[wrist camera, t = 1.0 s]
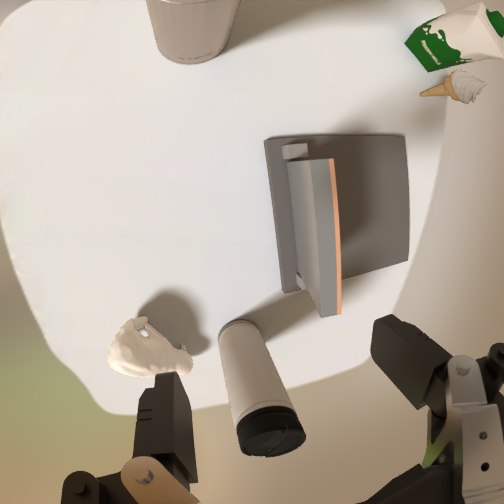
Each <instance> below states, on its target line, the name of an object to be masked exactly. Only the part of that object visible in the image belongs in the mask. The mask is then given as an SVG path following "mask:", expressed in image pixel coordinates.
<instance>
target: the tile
mask: <svg viewBox="0 0 504 504" xmlns="http://www.w3.org/2000/svg"><path fill="white" fill-rule="evenodd" d="M286 164H287V172H288V180H289V188H290V196H291V205H292V214H293V224H294V233H295V244H296V254H297V266H298V272H299V274H300V276H301V278H302V280H303V282H304V284H305V286H306V288H307V290H308V292H309V294H310V296H311V298H312V300H313V302H314V304H315V307H316V309H317V311H318V313H319V315H320V317H321V318H323V317H328V316H333V315H338V314H341V250H340V228H339V212H338V199H337V188H336V177H335V168H334V159H333V158H332V159H317V160H304V161H293V162H286Z"/></svg>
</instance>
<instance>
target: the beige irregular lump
mask: <svg viewBox="0 0 504 504" xmlns="http://www.w3.org/2000/svg"><path fill="white" fill-rule="evenodd" d="M147 321H148V318H147V317H146V316H141V317H138V318H134V319H130V320H128V321H127V322H126V323H125V324H124V325H123V326H122V327H121V328H120V331H119V332H118V333H117V335H116V336H115V339H114V340H113V342H112V343H111V345H110V349H109V351H108V363H109V365H110V367H111V368H113V369H114V370H116V371H118V372H120V373H123V374H126V375H128V376H134V377H143V378H145V377H153V376H155V375H156V374H157V373H165V372H172V371H176V372H177V373H178V375H186V374H188V373H189V372H190V371H191V370H192V368H193V360H192V357H191V356H190V354H189V353H187V352H186V346H185V345H183V344H182V343H181V345H182V349H180V350H179V349H176V348H174V347H173V346H172V345H171V343H170V342H168V341H167V339H166V338H165V337H164V336H163V335H161V334H160V333H159V332H158V331H156V330H155V329H154V328H153V327H152V326H150V325H149V324H148V323H147ZM144 326H145V329H146V331H147V333H148V335H149V337H144V336H143V335H142V334H140V333H139V332H138V331H137V330H138V329H142V328H143V327H144ZM180 347H181V346H180ZM183 347H184V348H183Z"/></svg>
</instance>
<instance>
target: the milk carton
mask: <svg viewBox="0 0 504 504" xmlns="http://www.w3.org/2000/svg"><path fill="white" fill-rule="evenodd" d="M404 44H405V45H406V46H407V47H408V48H409V49H410V51H411V52H412V53H413V54H414V55H415V56H416V58H417V59H418V60H419V61H420V63H421V64H422V65H423V66H424V68H425V69H426V70H427V71H428V72H431V71H435V70H439V69H443V68H447V67H451V66H455V65H460V64H464V63H468V62H474V61H479V60H484V59H504V18H503V16H502V15H501V14H500V13H499V12H498V11H494V12H489V11H488V9H487V8H486V7H485V6H484V4H483V3H482V2H479V3H476V4H473V5H470V6H467V7H464V8H460V9H457V10H455V11H452V12H449V13H447V14H444V15H441V16H439V17H436V18H434V19H432V20H429V21H427V22H425V23H424V24H422V25H421V26H419V27H418V28H416V29H415V30H414V32H413V33H412V34H411V35H410V37H409V38H408V39H407V41H406V42H405V43H404Z"/></svg>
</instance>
